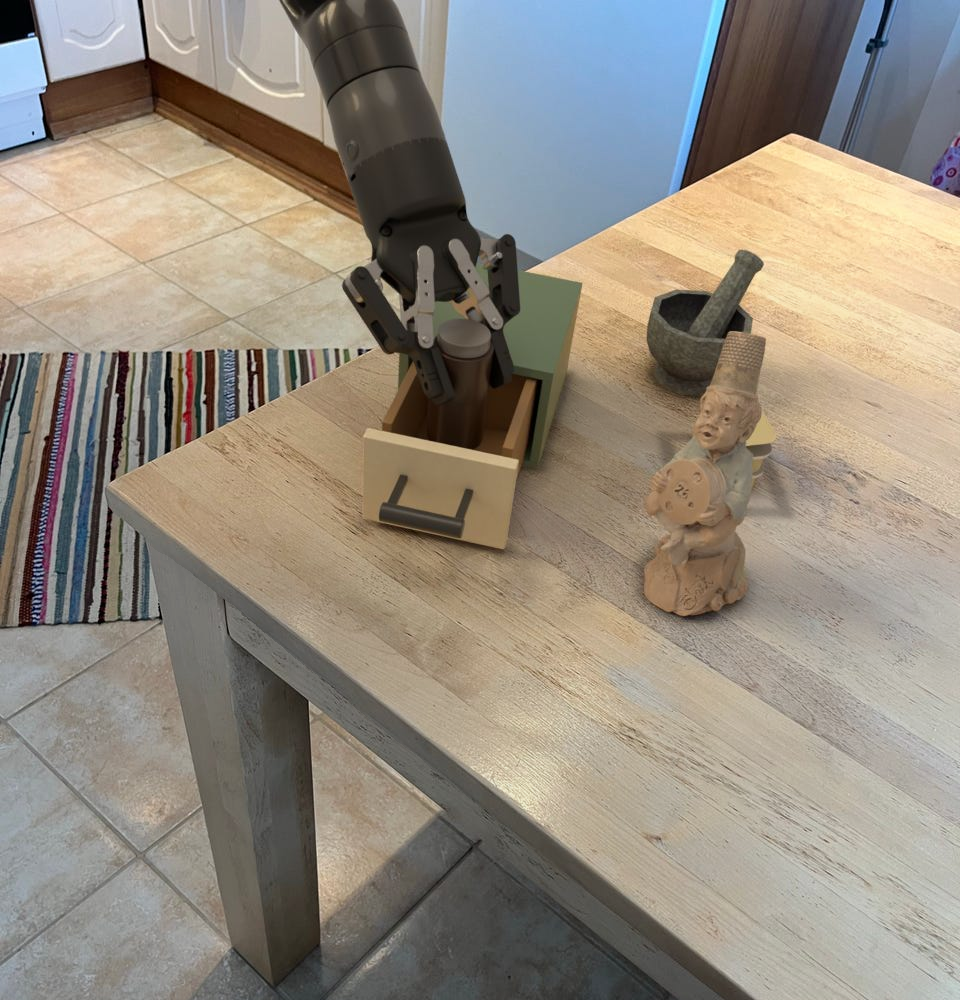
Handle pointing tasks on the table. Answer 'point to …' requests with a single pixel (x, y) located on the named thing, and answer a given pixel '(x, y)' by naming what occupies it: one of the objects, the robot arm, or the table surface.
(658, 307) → the mortar and pestle
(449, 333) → the pepper mill
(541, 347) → the cabinet
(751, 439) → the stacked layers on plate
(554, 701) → the table surface
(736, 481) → the figurine
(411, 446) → the drawer
